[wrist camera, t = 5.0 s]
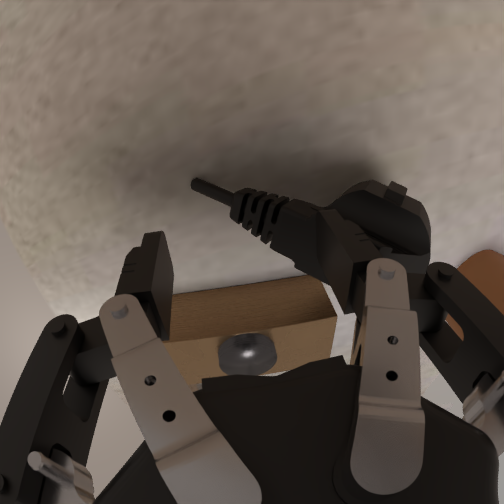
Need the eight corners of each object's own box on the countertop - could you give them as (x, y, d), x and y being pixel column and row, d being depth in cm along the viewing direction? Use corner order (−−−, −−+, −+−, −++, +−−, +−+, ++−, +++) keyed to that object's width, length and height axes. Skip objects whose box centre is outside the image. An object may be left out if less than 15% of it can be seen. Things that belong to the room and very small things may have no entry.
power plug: (192, 132, 14) (454, 243, 10) (268, 124, 20) (445, 196, 16) (178, 235, 17) (389, 348, 13) (250, 199, 23) (407, 274, 19)
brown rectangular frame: (154, 297, 20) (148, 355, 16) (317, 273, 21) (342, 326, 17) (200, 409, 30) (204, 450, 26) (304, 393, 30) (315, 432, 27)
